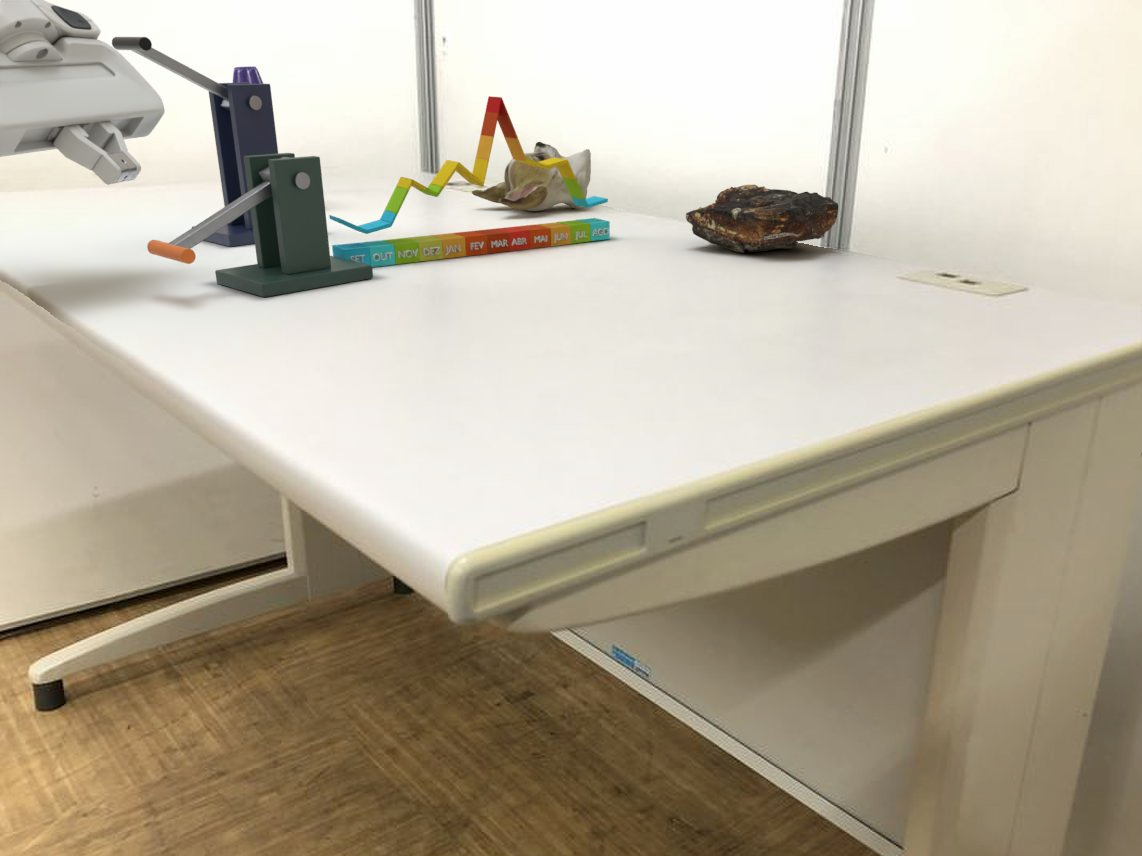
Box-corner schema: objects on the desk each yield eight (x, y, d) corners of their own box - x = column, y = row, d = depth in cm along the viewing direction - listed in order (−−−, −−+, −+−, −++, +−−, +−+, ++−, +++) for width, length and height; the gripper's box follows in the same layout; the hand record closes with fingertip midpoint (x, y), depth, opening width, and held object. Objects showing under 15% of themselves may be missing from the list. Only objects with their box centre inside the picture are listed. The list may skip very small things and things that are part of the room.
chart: (346, 270, 100) (330, 102, 94) (334, 265, 102) (317, 100, 96) (610, 239, 117) (610, 95, 111) (594, 235, 119) (593, 93, 113)
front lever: (190, 273, 85) (174, 247, 83) (156, 263, 89) (139, 238, 87) (321, 185, 92) (308, 159, 90) (284, 179, 95) (271, 154, 94)
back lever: (135, 52, 100) (143, 28, 100) (108, 51, 104) (115, 28, 104) (263, 120, 111) (271, 98, 111) (234, 117, 115) (241, 96, 115)
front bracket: (264, 297, 89) (246, 164, 85) (216, 283, 94) (198, 157, 90) (373, 278, 97) (362, 155, 93) (324, 266, 102) (312, 149, 97)
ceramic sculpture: (608, 139, 132) (496, 151, 125) (612, 210, 135) (503, 225, 129) (570, 133, 141) (464, 145, 134) (575, 200, 144) (472, 214, 138)
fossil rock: (855, 245, 114) (859, 189, 112) (791, 264, 104) (794, 204, 102) (746, 232, 122) (748, 180, 120) (676, 250, 112) (677, 193, 110)
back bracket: (230, 246, 111) (207, 85, 105) (193, 237, 116) (169, 83, 110) (322, 234, 118) (306, 83, 112) (283, 226, 123) (266, 81, 117)
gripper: (-102, 12, 73) (49, 164, 75) (102, 15, 91) (219, 137, 93) (-136, 80, 76) (10, 225, 78) (68, 70, 94) (183, 187, 96)
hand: (126, 177), depth 85 cm, fingers closed
